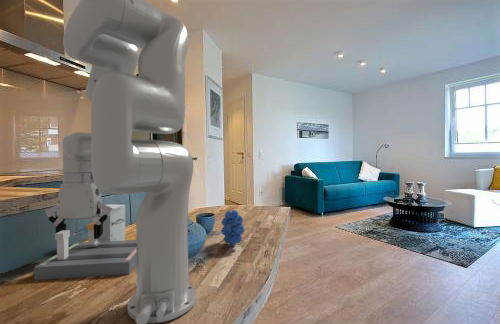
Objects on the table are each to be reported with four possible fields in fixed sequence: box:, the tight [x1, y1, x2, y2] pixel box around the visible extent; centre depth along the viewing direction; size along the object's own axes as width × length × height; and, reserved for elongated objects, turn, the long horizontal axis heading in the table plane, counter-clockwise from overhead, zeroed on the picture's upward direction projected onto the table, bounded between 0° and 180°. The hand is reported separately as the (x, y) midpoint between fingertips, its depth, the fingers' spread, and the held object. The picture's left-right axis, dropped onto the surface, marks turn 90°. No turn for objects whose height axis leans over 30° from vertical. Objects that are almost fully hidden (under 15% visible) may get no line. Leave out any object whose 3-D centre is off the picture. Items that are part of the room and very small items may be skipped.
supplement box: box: [90, 203, 126, 242], centre depth 81 cm, size 7×7×13 cm
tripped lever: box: [86, 221, 100, 247], centre depth 70 cm, size 3×2×6 cm
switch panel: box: [33, 229, 137, 281], centre depth 66 cm, size 17×21×10 cm
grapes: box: [220, 209, 245, 247], centre depth 79 cm, size 12×7×12 cm, turn 38°
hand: (79, 238), depth 69 cm, fingers open, 9 cm apart
